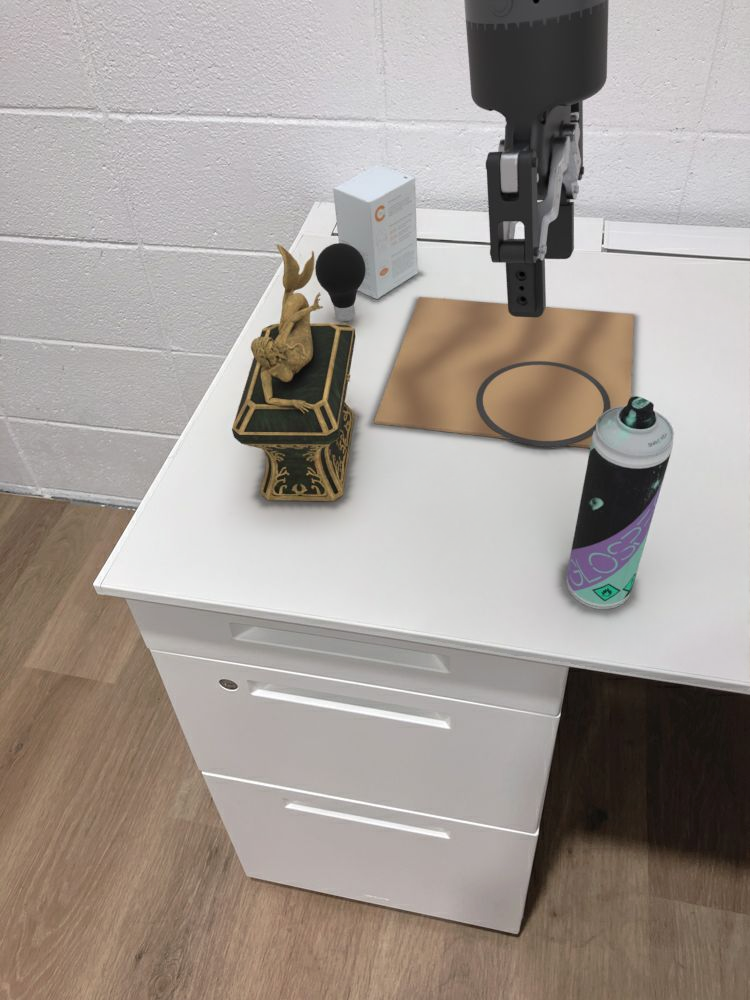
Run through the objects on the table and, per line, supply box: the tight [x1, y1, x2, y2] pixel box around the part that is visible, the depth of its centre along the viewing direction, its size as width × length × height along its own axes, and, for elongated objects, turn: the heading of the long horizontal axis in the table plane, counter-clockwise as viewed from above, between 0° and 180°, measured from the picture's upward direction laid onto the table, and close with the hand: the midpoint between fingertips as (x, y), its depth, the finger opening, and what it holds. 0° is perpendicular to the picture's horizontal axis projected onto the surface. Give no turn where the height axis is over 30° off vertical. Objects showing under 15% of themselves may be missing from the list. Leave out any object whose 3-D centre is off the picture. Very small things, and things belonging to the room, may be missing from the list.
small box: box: [332, 164, 419, 300], centre depth 100 cm, size 8×6×13 cm
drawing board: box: [373, 296, 635, 449], centre depth 90 cm, size 26×25×1 cm
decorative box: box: [231, 243, 356, 502], centre depth 76 cm, size 20×10×20 cm, turn 175°
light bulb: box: [314, 242, 366, 323], centre depth 95 cm, size 6×6×10 cm
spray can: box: [565, 395, 675, 610], centre depth 61 cm, size 6×6×20 cm
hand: (542, 284), depth 53 cm, fingers open, 8 cm apart
